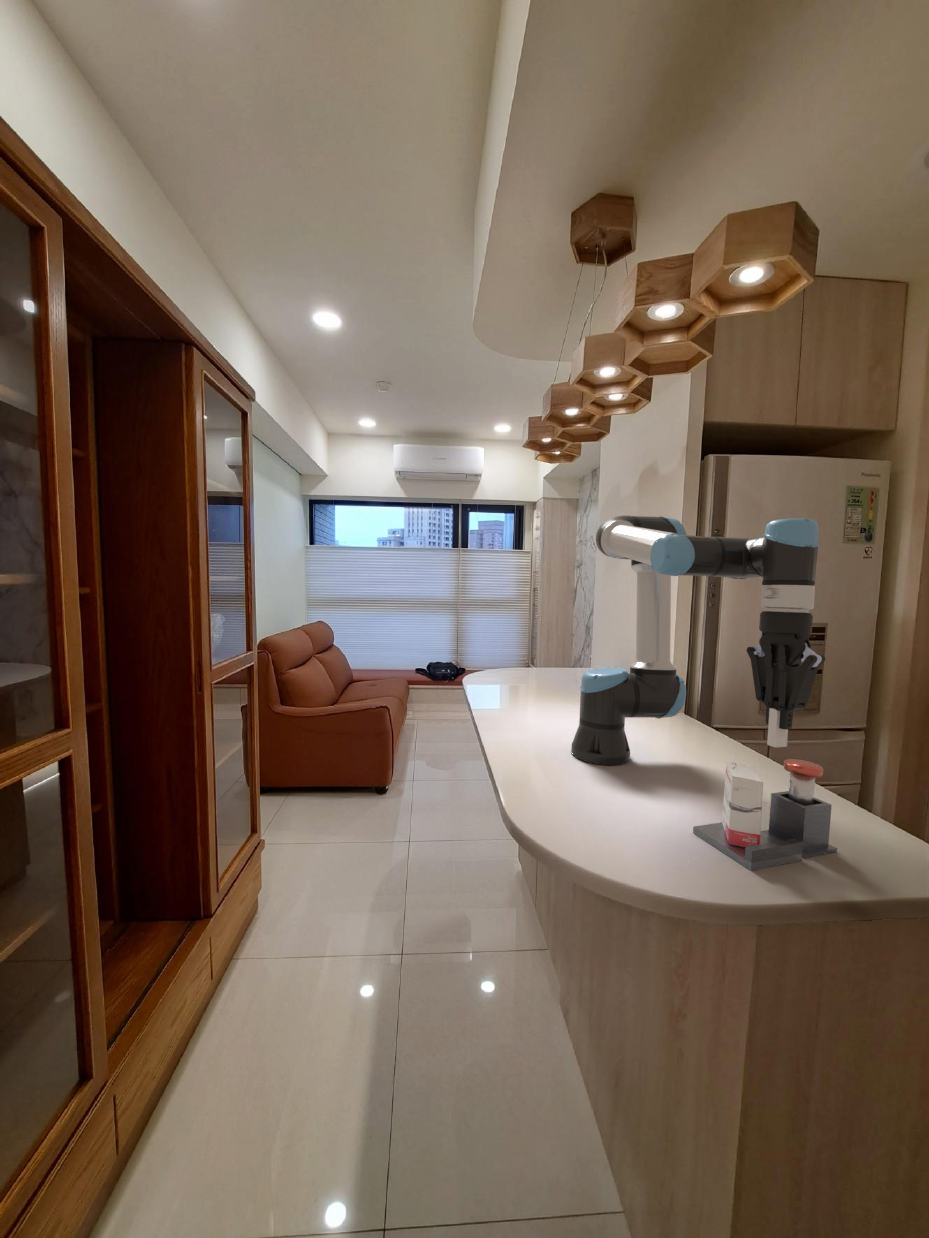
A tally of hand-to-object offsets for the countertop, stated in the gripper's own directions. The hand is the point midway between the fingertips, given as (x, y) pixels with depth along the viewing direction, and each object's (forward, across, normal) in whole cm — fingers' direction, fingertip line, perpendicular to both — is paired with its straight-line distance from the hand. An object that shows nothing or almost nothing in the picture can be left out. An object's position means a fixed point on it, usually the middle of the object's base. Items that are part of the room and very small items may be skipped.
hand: (777, 745), depth 82 cm
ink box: (+17, -2, -5) cm, 18 cm away
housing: (+18, +1, +5) cm, 19 cm away
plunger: (+13, +1, +5) cm, 14 cm away
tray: (+18, 0, -5) cm, 18 cm away
